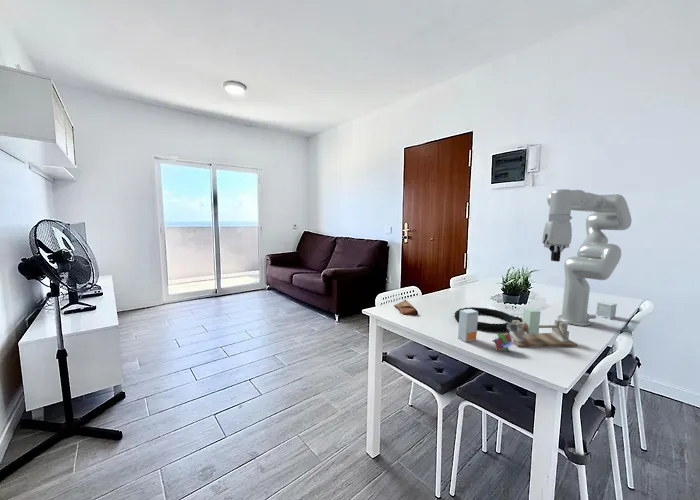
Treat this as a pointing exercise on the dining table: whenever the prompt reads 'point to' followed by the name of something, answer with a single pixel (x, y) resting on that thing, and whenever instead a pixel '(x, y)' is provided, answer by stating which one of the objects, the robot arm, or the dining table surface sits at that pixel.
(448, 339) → the dining table surface
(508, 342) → the geometric puzzle
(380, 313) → the dining table surface
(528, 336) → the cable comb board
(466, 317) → the skincare box
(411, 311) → the sunglasses case
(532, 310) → the sleeve
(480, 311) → the cable lock
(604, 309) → the skincare box
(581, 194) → the robot arm
